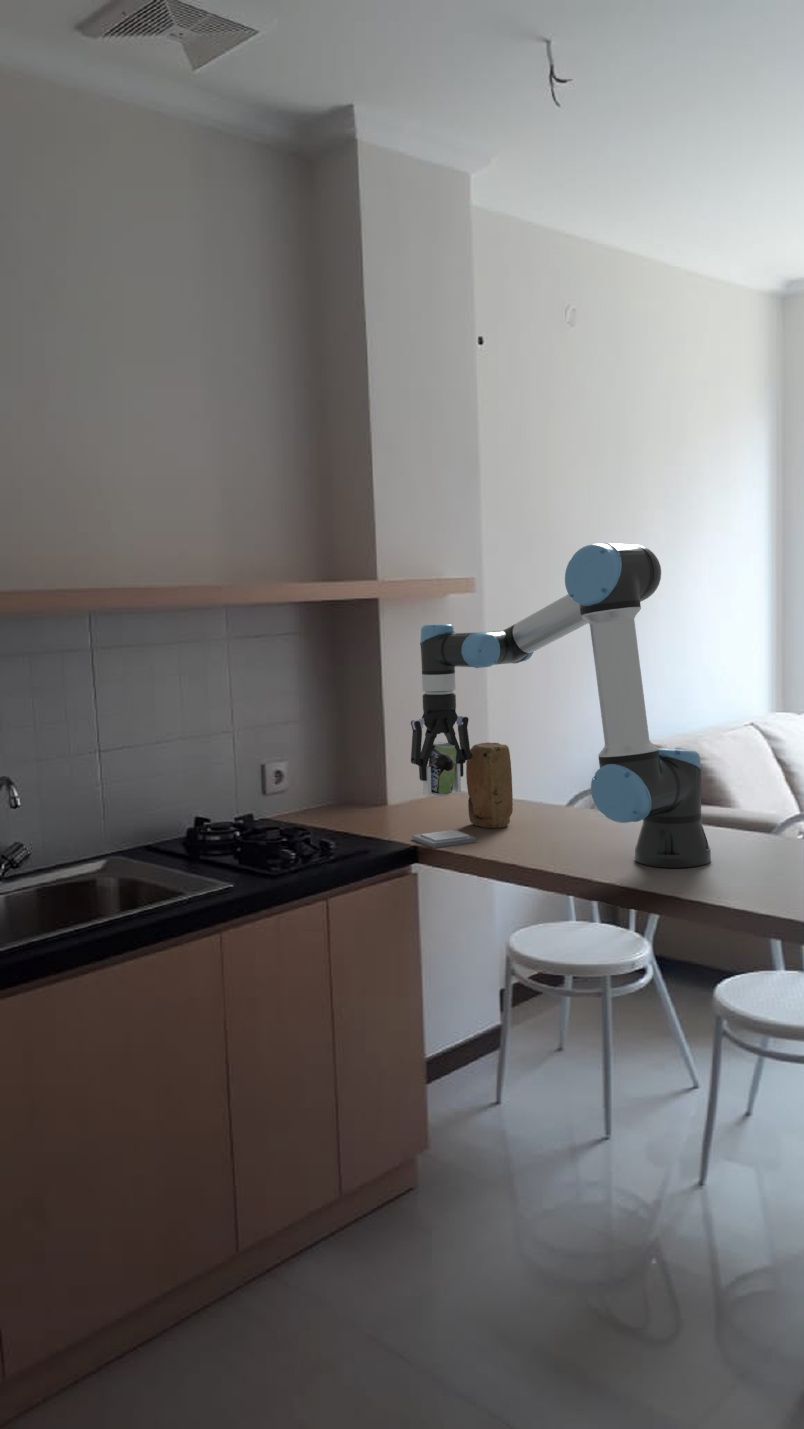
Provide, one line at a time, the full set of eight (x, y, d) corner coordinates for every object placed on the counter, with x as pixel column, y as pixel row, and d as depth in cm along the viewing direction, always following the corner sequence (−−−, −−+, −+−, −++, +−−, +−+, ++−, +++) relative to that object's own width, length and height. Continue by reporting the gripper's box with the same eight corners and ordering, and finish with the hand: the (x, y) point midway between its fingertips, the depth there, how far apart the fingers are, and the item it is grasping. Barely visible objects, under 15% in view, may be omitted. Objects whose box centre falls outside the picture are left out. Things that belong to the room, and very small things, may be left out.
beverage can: (430, 792, 262) (428, 740, 261) (461, 792, 260) (459, 741, 259) (422, 797, 256) (420, 744, 255) (454, 797, 254) (452, 744, 253)
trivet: (476, 841, 256) (476, 836, 256) (433, 848, 252) (433, 842, 252) (454, 833, 266) (454, 828, 266) (412, 839, 262) (411, 833, 261)
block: (516, 826, 272) (514, 743, 270) (493, 831, 268) (490, 747, 266) (486, 820, 281) (483, 740, 279) (463, 825, 276) (460, 743, 274)
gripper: (469, 688, 263) (472, 786, 265) (392, 694, 255) (395, 795, 257) (485, 690, 256) (488, 790, 259) (406, 696, 248) (410, 800, 250)
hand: (442, 792), depth 258 cm, fingers closed on beverage can, 7 cm apart
